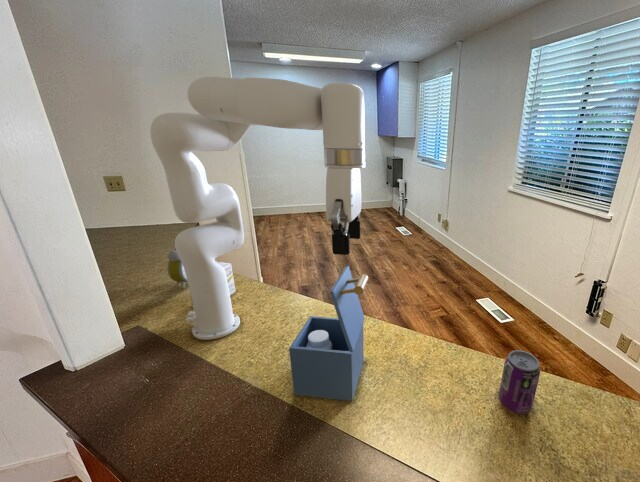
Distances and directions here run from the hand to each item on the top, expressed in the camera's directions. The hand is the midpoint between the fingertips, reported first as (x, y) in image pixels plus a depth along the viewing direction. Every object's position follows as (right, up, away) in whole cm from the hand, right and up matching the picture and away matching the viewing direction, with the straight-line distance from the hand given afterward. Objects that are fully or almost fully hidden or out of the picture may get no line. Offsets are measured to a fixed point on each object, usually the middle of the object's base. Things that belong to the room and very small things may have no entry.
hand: (347, 245), depth 62 cm
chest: (-6, -32, +12) cm, 35 cm away
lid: (-1, -14, +5) cm, 15 cm away
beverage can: (+37, -36, +6) cm, 52 cm away
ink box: (-54, -18, +48) cm, 74 cm away
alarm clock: (-71, -15, +56) cm, 92 cm away
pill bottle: (-8, -31, +12) cm, 35 cm away
